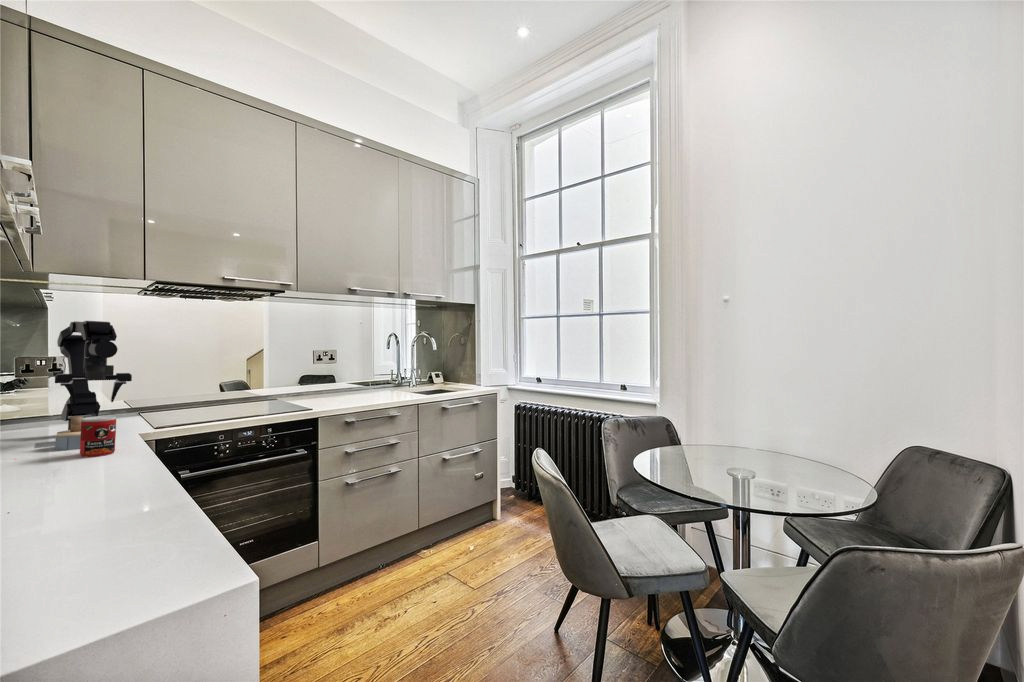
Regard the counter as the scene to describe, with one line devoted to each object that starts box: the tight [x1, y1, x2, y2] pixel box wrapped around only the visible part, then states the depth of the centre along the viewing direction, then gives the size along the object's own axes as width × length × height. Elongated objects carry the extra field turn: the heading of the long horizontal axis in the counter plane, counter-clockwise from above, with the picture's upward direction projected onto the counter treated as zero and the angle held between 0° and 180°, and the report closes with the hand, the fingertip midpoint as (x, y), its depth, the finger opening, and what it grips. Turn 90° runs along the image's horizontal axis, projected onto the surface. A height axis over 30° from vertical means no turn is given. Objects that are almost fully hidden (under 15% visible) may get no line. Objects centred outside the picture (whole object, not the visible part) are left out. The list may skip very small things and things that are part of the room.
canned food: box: [79, 415, 117, 458], centre depth 129 cm, size 8×8×11 cm
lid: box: [56, 415, 84, 437], centre depth 136 cm, size 9×9×6 cm
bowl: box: [54, 434, 81, 451], centre depth 136 cm, size 9×9×4 cm
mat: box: [34, 440, 55, 449], centre depth 140 cm, size 10×8×1 cm
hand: (93, 403), depth 147 cm, fingers open, 9 cm apart
